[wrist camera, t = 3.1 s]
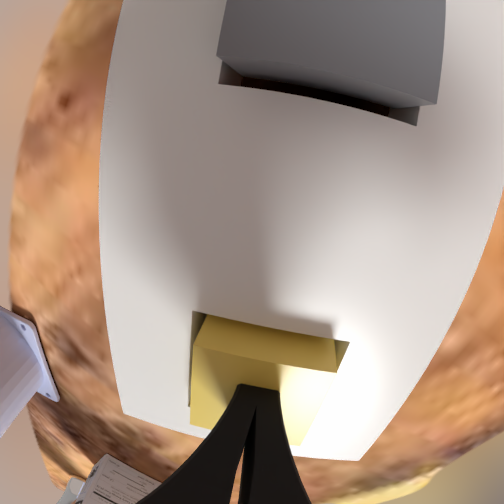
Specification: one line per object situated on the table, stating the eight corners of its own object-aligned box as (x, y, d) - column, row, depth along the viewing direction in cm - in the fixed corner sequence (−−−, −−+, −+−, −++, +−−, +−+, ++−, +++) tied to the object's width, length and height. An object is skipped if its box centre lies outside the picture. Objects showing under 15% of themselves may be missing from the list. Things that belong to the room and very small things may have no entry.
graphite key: (242, 76, 8) (215, 55, 5) (266, -45, 6) (251, -97, 3) (394, 109, 8) (436, 104, 5) (408, -14, 6) (443, -55, 3)
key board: (145, 374, 16) (123, 413, 13) (187, -69, 7) (161, -104, 4) (354, 417, 15) (358, 460, 12) (478, -10, 6) (514, -31, 3)
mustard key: (207, 374, 14) (189, 424, 11) (216, 294, 12) (193, 345, 9) (302, 393, 13) (300, 446, 10) (331, 317, 11) (337, 373, 9)
